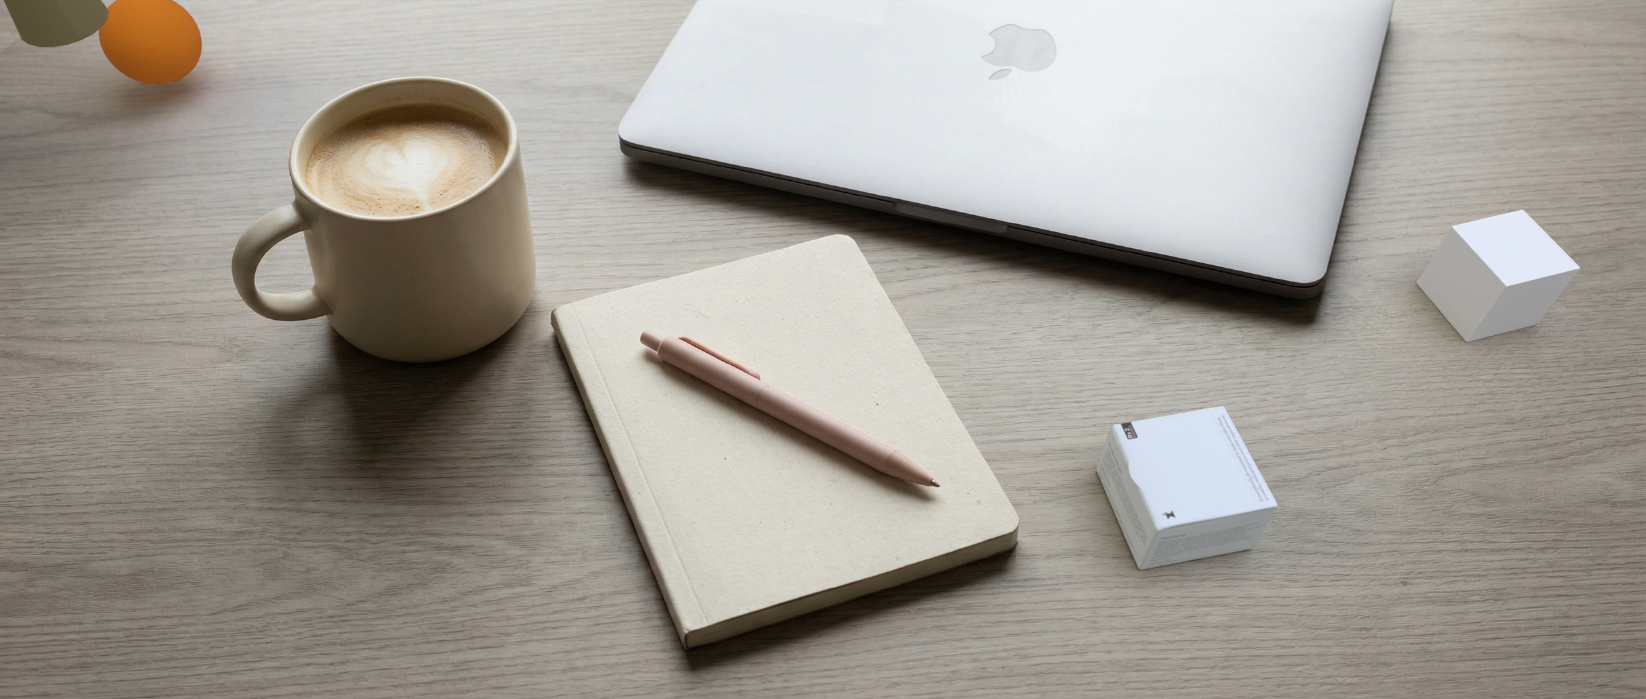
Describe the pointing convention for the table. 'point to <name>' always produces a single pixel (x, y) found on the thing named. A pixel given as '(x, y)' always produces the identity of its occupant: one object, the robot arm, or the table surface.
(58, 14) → the olive pawn
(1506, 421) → the table surface
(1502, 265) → the white cube
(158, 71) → the orange
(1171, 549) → the small box
